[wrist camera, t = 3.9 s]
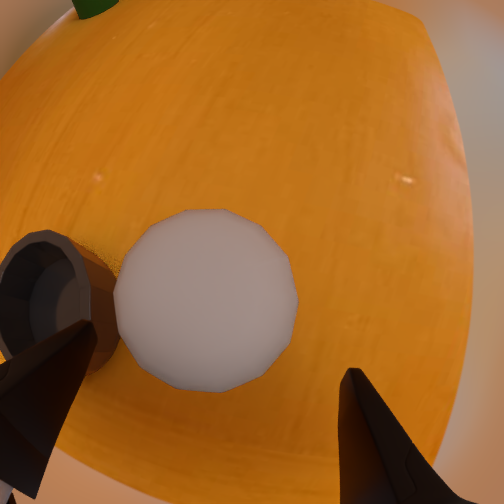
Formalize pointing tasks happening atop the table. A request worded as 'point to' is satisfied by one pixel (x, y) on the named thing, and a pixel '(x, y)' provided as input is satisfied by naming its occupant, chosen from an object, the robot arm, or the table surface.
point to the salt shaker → (205, 300)
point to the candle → (92, 7)
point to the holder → (55, 294)
